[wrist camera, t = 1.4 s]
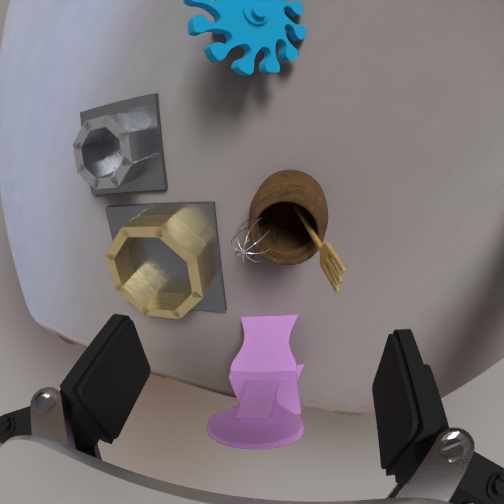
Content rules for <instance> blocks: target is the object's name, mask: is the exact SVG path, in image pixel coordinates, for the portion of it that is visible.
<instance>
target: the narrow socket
mask: <svg viewBox="0 0 504 504" xmlns="http://www.w3.org/2000/svg"><path fill="white" fill-rule="evenodd" d="M80 116H81V126H82V128H81V130H80V132H79V134H78V136H77V138H76V140H75V142H74V144H73V147H74V154H75V161H76V167H77V173H79V174H80V175H81V176H82V177H83V178H84V179H85V180H86V181H87V182H88V183H89V184H90V186H91V191H92V195H98V194H109V193H120V192H133V191H147V190H163V189H166V188H168V185H167V178H166V170H165V162H164V153H163V144H162V134H161V124H160V113H159V101H158V94H150V95H145V96H141V97H136V98H132V99H128V100H123V101H119V102H115V103H112V104H108V105H104V106H101V107H97V108H94V109H90V110H87V111H84V112H80Z"/></svg>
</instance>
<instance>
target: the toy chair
mask: <svg viewBox="0 0 504 504" xmlns="http://www.w3.org/2000/svg"><path fill="white" fill-rule="evenodd" d="M297 319H298V315H279V316H259V317H241V322H242V325H243V329H244V342H243V345H242V347H241V349H240V351H239V353H238V354H237V356H236V357H235V359H234V360H233V362H232V364H231V371H230V375H229V380H230V383H231V386H232V388H233V390H234V392H235V395H236V397H237V400H238V403H239V405H238V406H236V407H234V408H232V409H230V410H227V411H223V412H220V413H217V414H215V415H214V416H212V417H211V418H210V420H209V422H208V425H207V432H208V435H209V436H210V437H211V438H212V439H214V440H215V441H217V442H219V443H221V444H223V445H226V446H230V447H235V448H242V449H271V448H277V447H281V446H285V445H288V444H291V443H293V442H295V441H297V440H299V438H301V437H302V435H303V432H304V425H303V422H302V419H301V418H300V417H299V416H298V415H296V414H301V407H302V404H301V401H300V395H299V387H298V379H299V376H300V374H301V372H302V370H303V368H304V365H303V364H302V365H296V361H295V359H294V357H293V355H292V352H291V350H290V346H289V339H290V334H291V332H292V329H293V327H294V325H295V323H296V321H297Z"/></svg>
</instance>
